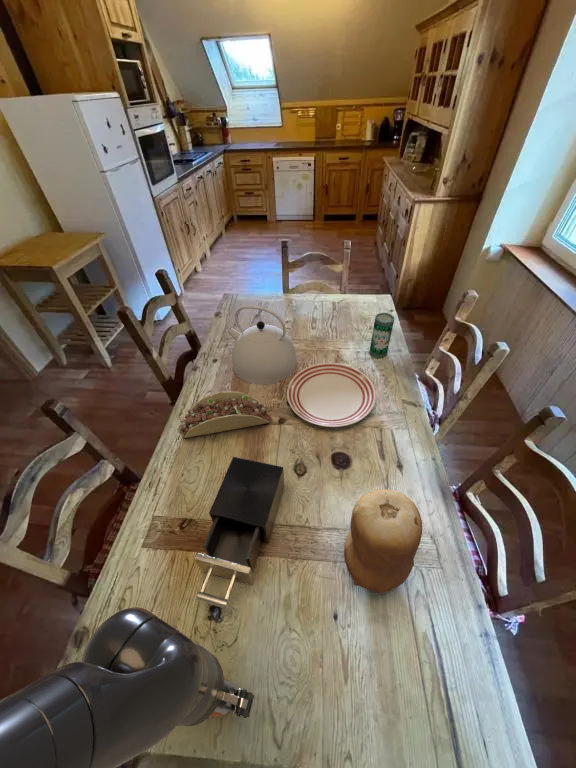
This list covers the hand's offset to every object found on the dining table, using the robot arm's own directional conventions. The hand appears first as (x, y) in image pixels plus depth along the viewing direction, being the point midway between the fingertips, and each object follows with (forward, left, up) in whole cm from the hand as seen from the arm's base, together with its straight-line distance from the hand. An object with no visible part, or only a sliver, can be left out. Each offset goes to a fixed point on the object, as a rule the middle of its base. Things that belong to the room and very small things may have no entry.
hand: (212, 692), depth 54 cm
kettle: (+78, -42, -8) cm, 89 cm away
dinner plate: (+51, -54, -8) cm, 74 cm away
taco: (+56, -21, -8) cm, 60 cm away
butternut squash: (+5, -36, -8) cm, 37 cm away
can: (+62, -81, -8) cm, 102 cm away
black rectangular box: (+29, -18, -7) cm, 35 cm away
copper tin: (0, 0, -7) cm, 7 cm away
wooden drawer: (+19, -10, -6) cm, 23 cm away
